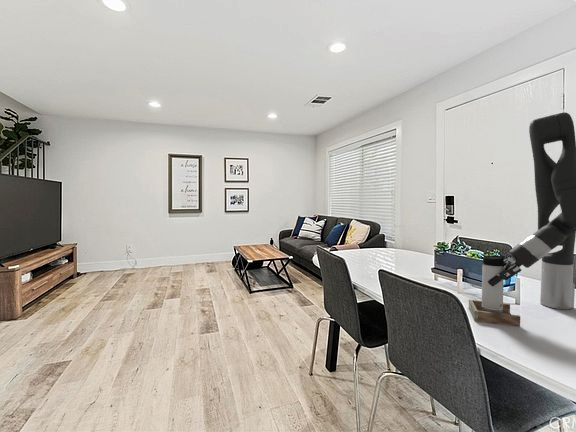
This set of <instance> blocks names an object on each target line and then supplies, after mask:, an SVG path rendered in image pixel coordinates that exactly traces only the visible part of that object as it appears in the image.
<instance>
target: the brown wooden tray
mask: <svg viewBox="0 0 576 432" xmlns="http://www.w3.org/2000/svg"><path fill="white" fill-rule="evenodd" d="M468 310H469V312H470V314H471V316H472V318H473V321H474V322H481V323H489V324H494V325H495V324H496V325H504V326H511V327H518V328H520V327H521V316H520V315H518V314H512V313H511V304H510V303H505V302H503V312H502V313H494V312H486V311H484V310H483V309H482V300H476V299H468Z"/></svg>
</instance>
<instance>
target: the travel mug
mask: <svg viewBox="0 0 576 432" xmlns="http://www.w3.org/2000/svg"><path fill="white" fill-rule="evenodd" d="M504 258H506V256H505V255H501V254H500V255H492V254H491V255H485V256H483V257H482V271H481V273H482V276H481V277H482V279H481V301H482V309H483V310H484V311H486V312H494V313H502V312H503V303H504V280H502V281H500V282H499V283H497V284H496V285H495V286H491V285H490V284H489V283H488V281H489V280H490V279H491V278H493V277H494V276H495V275H497V274H498V273H499V272H500V269H501V268H502V267H503V265H504V264H503V263H504Z"/></svg>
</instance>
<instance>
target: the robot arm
mask: <svg viewBox="0 0 576 432" xmlns="http://www.w3.org/2000/svg"><path fill="white" fill-rule="evenodd" d="M528 131H529V132H528V133H529V138H530V139H529V140H530V145H531V151H532V158H533V166H534V167H533V168H534V169H533V170H534V190H535V196H536V204H537V230H536V231H535V232H534V233H533V234H531V235H529V236H527V237H526V238H524V239H523V240H522V241H520V242H519V243H518V244H517V245H515V246H513V247H512V248H511V249H510V250H508V254H509V255H510V256H511V257H509V258H506V257H505V258H504V263H503V264H504V265H503V267H502V268H501V269H500V272H499V273H498V274H497V275H495V276H494V277H493V278H491V279H490V280H489V281H488V283H489V284H490V285H491V286H495V285H496V284H497V283H499V282H500V281H502V280H503V281H508V280H509V279H511V278H512V277H514V276H516V275H517V274H518V273H521V271H522V268H521V267H522V266H523V267H524V268H526V269H528V268H530V267H532V266H533V265H534V264H536V263H538V262H539V261H540V260H541V274H540V277H541V278H540V279H541V280H540V297H539V298H540V301H539V302H540V304H541V305H542V306H545V307H549V308H552V309H556V310H557V309H558V310H571V309H572V308H575V289H576V284H575V283H574V281H573V280H574V262H575V261H574V256H575V245H576V244H575V242H576V132H575V131H576V130H575V125H574V121H573V118H572V116H571V114H570V113H568V112H560V113H555V114H551V115H548V116H542V117H539V118H536V119H533V120H532V121H531V122H530V123H529V128H528ZM560 141H561V143H562V150H561V153H560V155H559V158H558V160H557V161H555V160H553V158H551V156H550V155H549V154H548V153H547V152H546V149H545V145H547V144H551V143H555V142H560ZM558 206H560V207H559V208H560V210H561V213H559V214H558V215H557V216H555V217H554V218H553V219H552V220H550V216H551V215H552V214H553V212H554V211H555V210H556V209H557V207H558ZM558 246H559V247H560V246H561V247H562V248H561V249H560V250H557V251H553V250H554V249H555V248H557V247H558ZM551 251H553V252H551Z"/></svg>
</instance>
